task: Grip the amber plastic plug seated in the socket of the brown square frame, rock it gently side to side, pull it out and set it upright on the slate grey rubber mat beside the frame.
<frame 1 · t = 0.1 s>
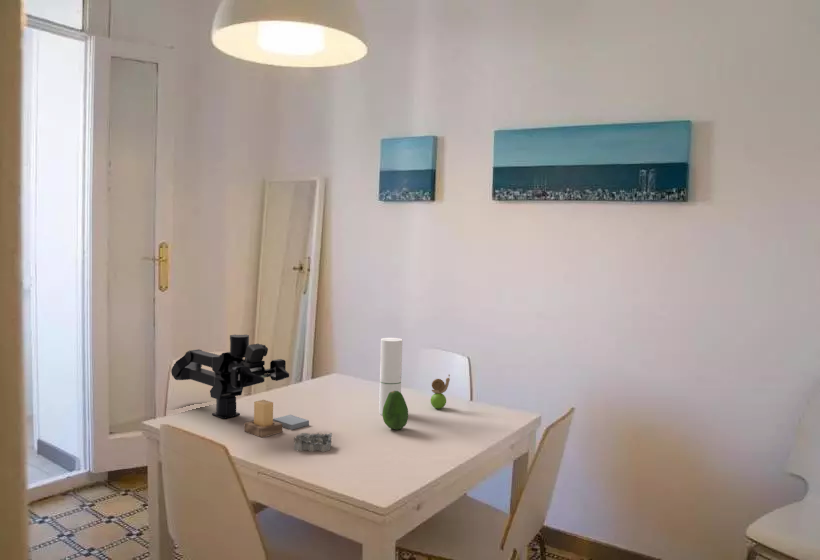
hand: (276, 377, 198), 17 cm above the table, tool horizontal, fingers open, 9 cm apart
brown square frame: (263, 431, 200), on the table
cylindrical container: (389, 413, 224), on the table
amber plug: (263, 416, 200), in the brown square frame
egg carton: (312, 448, 187), on the table
snail figurine: (439, 409, 231), on the table
grey rubber mat: (290, 424, 208), on the table
avocado: (394, 429, 206), on the table
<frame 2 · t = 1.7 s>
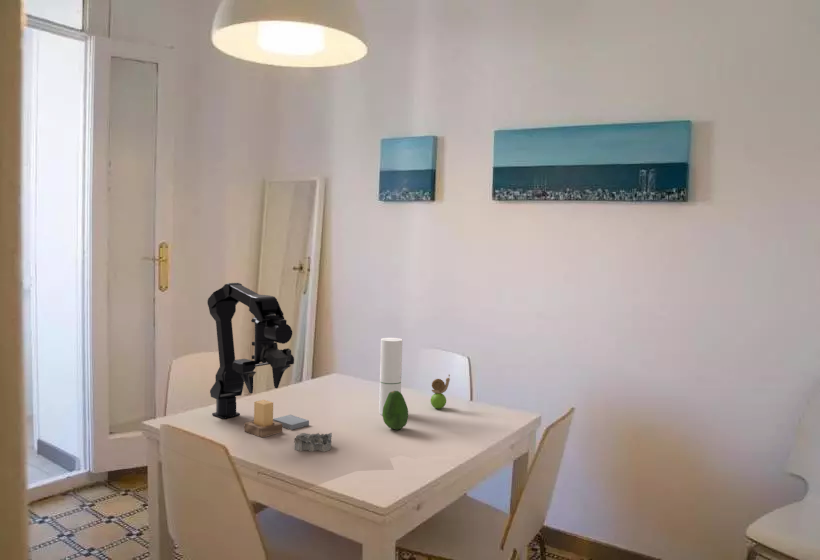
hand: (263, 390, 199), 12 cm above the table, tool pointing down, fingers open, 9 cm apart
nothing on the table moved.
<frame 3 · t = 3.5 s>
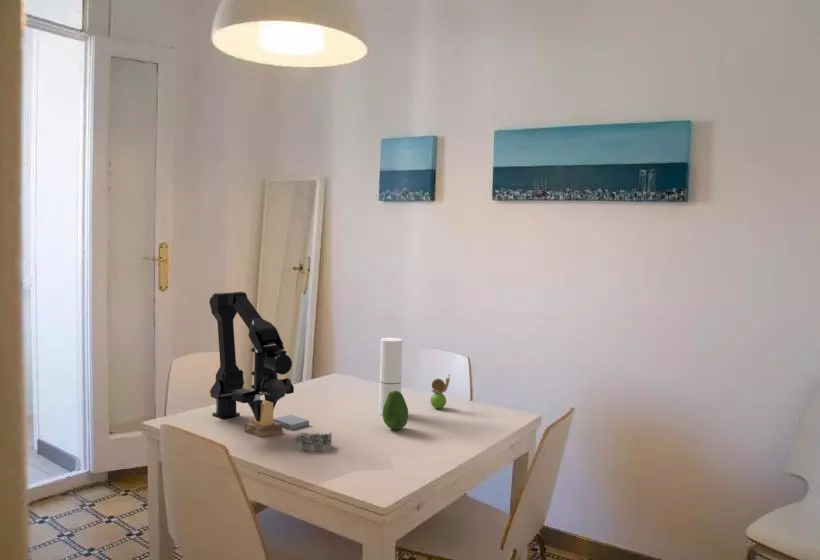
hand: (263, 420, 200), 4 cm above the table, tool pointing down, fingers closed on amber plug, 3 cm apart
amber plug: (263, 416, 200), in the brown square frame, touching gripper
everything else where it was.
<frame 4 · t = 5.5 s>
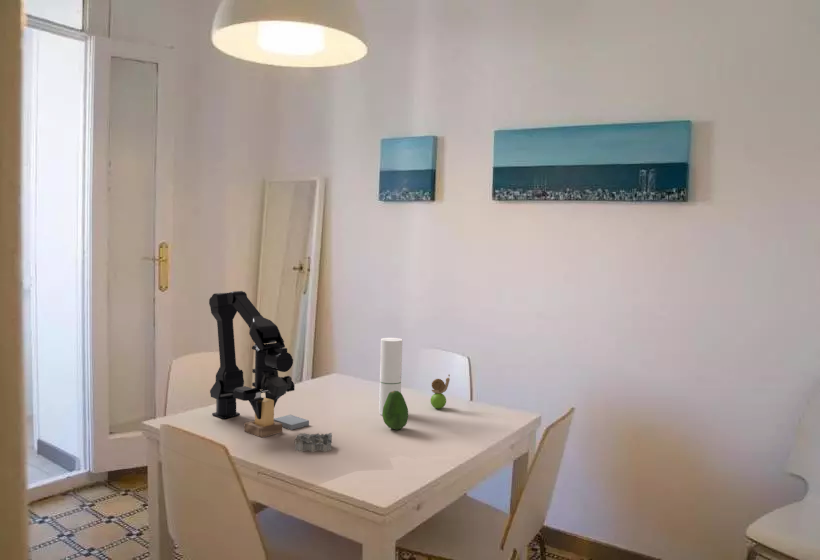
hand: (264, 417, 200), 4 cm above the table, tool pointing down, fingers closed on amber plug, 3 cm apart
amber plug: (264, 414, 200), in the brown square frame, point 5 cm above the table, touching gripper
everything else where it was.
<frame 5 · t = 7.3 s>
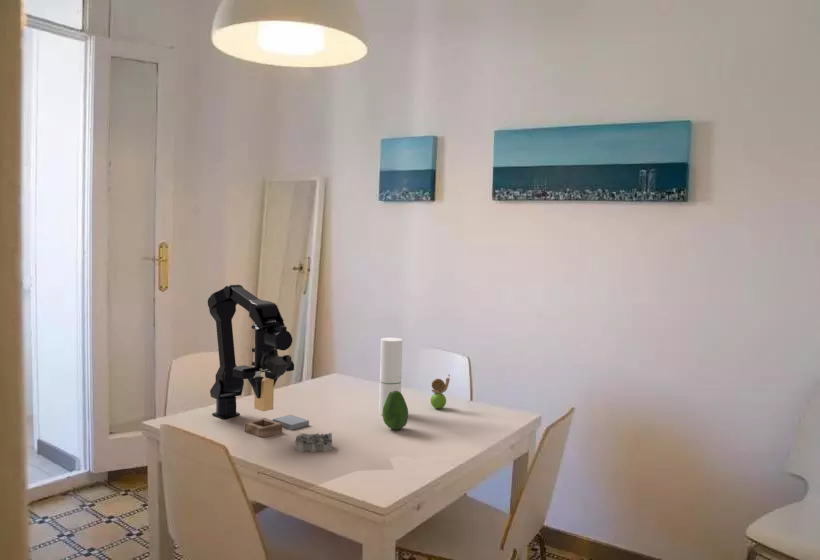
hand: (263, 397, 199), 10 cm above the table, tool pointing down, fingers closed on amber plug, 3 cm apart
amber plug: (264, 394, 199), point 11 cm above the table, touching gripper
everything else where it was.
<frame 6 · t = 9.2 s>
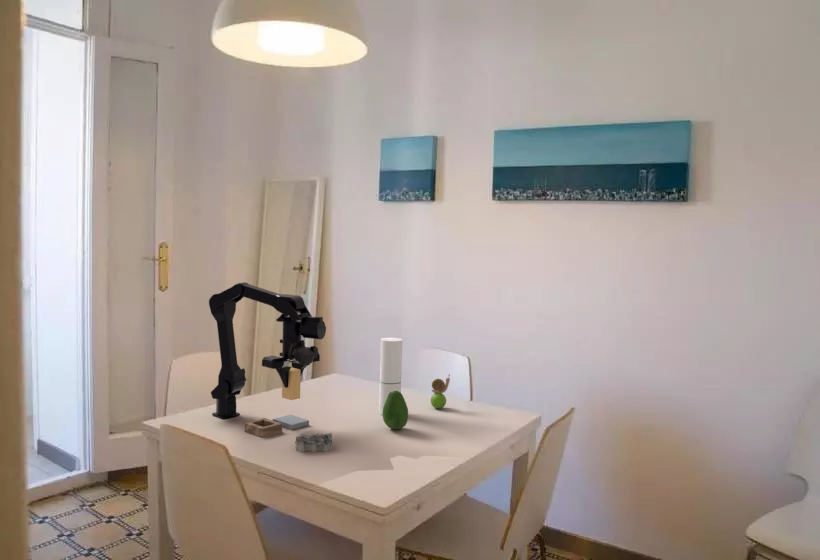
hand: (291, 386, 207), 12 cm above the table, tool pointing down, fingers closed on amber plug, 3 cm apart
amber plug: (291, 383, 207), point 13 cm above the table, touching gripper
everything else where it was.
when the fingers open (6 cm above the table, at t = 11.1 s): amber plug drops 1 cm, resting on grey rubber mat.
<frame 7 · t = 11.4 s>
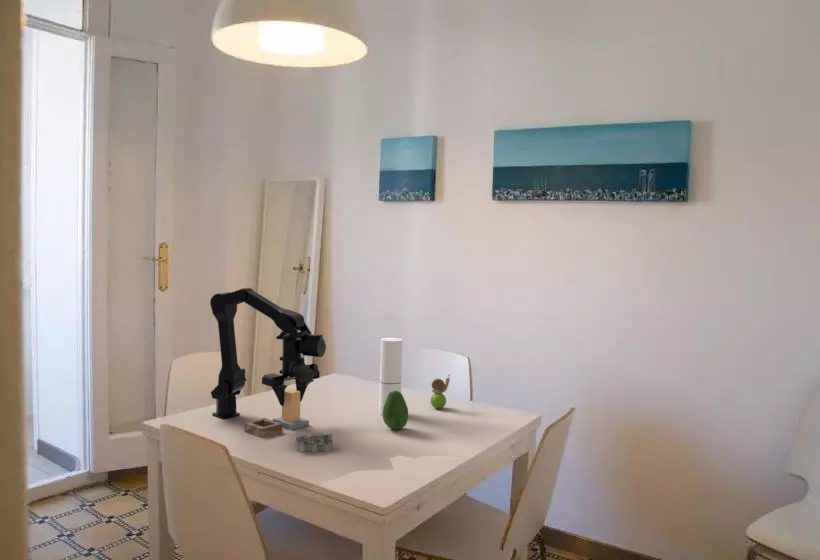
hand: (291, 403, 207), 6 cm above the table, tool pointing down, fingers open, 7 cm apart
amber plug: (291, 405, 207), on the grey rubber mat, point 6 cm above the table
everything else where it was.
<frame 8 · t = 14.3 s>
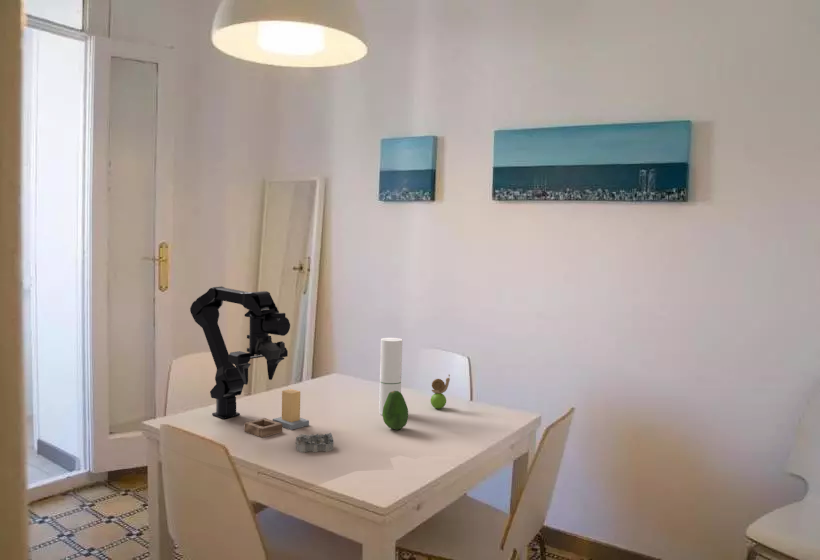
hand: (258, 382, 207), 13 cm above the table, tool pointing down, fingers open, 9 cm apart
nothing on the table moved.
at the end: amber plug inside the target area (0.0 cm from its centre), point 6.0 cm above the table; amber plug tilted 0°; amber plug touching grey rubber mat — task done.
